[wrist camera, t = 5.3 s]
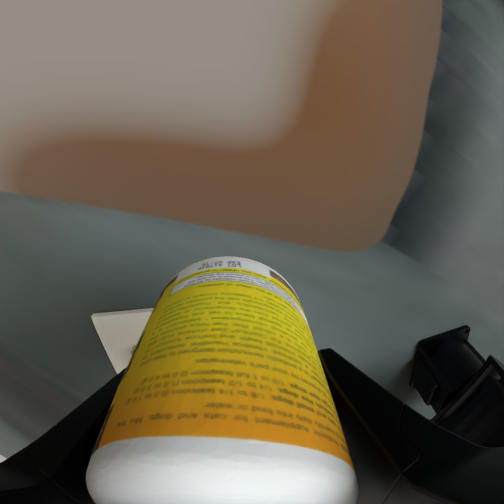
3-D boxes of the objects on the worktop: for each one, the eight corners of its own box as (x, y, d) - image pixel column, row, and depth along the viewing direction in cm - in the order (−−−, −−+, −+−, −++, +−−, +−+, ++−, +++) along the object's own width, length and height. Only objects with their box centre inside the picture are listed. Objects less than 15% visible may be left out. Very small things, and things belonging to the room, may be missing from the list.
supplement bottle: (149, 252, 10) (-18, 533, 1) (304, 248, 11) (455, 565, 1) (171, 370, 12) (124, 592, 3) (296, 368, 13) (343, 596, 3)
